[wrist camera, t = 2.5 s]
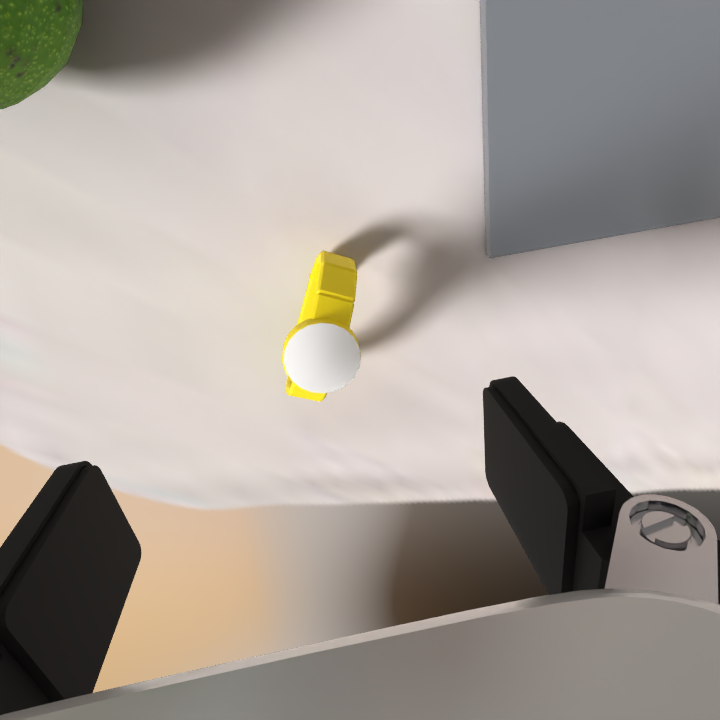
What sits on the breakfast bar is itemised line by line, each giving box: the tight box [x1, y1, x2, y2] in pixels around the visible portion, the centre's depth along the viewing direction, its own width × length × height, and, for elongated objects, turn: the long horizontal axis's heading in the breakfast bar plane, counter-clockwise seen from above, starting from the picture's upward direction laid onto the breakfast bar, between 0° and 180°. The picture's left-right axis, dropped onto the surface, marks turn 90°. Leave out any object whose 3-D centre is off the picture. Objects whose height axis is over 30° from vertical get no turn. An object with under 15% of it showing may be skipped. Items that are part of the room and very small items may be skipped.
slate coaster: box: [480, 0, 720, 258], centre depth 18 cm, size 12×12×1 cm
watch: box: [282, 251, 361, 401], centre depth 19 cm, size 6×3×6 cm, turn 163°
